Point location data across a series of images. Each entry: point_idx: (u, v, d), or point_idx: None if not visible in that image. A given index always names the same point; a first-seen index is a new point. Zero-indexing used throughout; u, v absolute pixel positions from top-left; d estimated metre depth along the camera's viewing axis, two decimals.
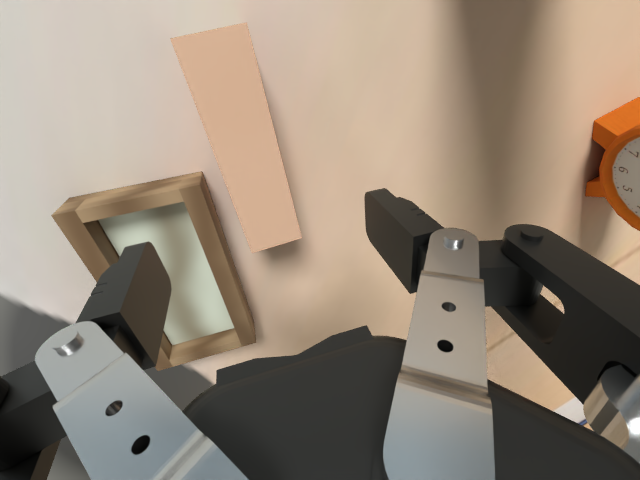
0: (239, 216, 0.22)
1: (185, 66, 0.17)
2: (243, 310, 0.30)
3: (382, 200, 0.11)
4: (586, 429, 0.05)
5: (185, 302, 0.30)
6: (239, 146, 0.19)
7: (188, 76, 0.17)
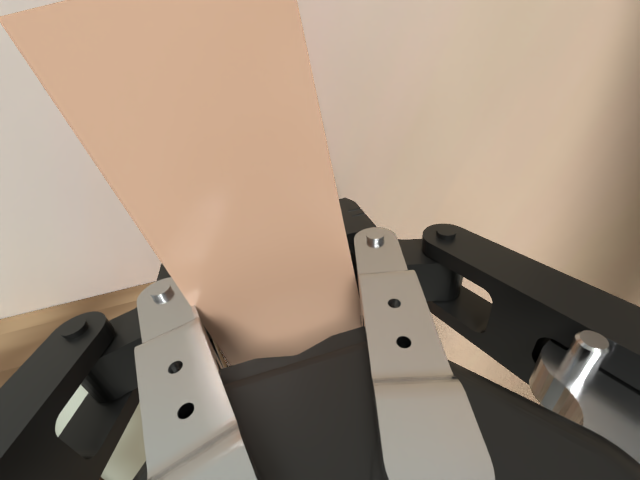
0: None
1: (79, 115, 0.05)
2: None
3: None
4: (586, 429, 0.05)
5: None
6: (263, 294, 0.08)
7: (96, 145, 0.05)
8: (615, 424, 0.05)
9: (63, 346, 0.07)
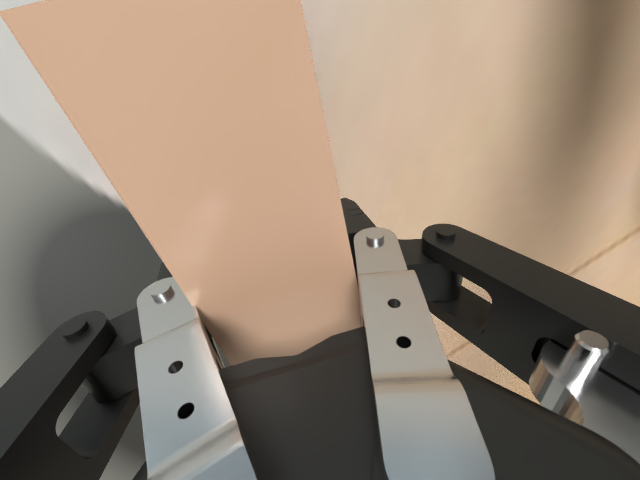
0: None
1: (80, 111, 0.05)
2: None
3: None
4: (586, 429, 0.05)
5: None
6: (264, 292, 0.08)
7: (97, 141, 0.05)
8: (614, 424, 0.05)
9: (63, 346, 0.07)
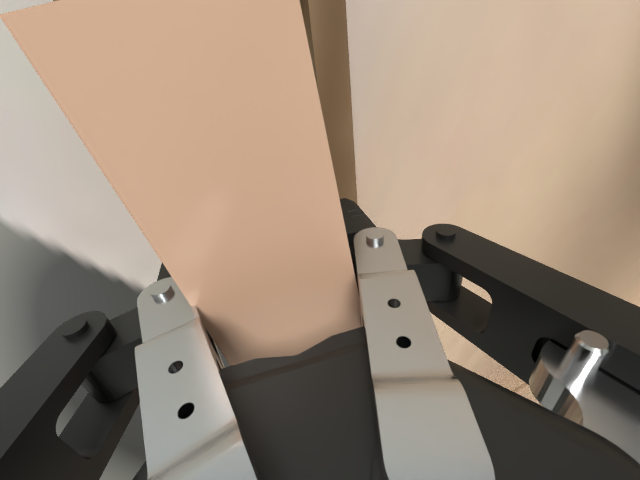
0: None
1: (80, 113, 0.05)
2: None
3: None
4: (586, 429, 0.05)
5: None
6: (264, 293, 0.08)
7: (97, 143, 0.05)
8: (614, 423, 0.05)
9: (63, 346, 0.07)
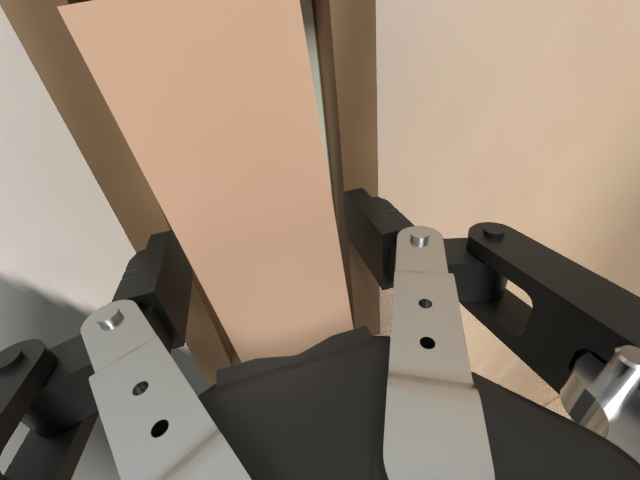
0: None
1: (114, 91, 0.06)
2: None
3: (357, 199, 0.11)
4: (586, 429, 0.05)
5: None
6: (259, 264, 0.09)
7: (125, 118, 0.06)
8: None
9: None
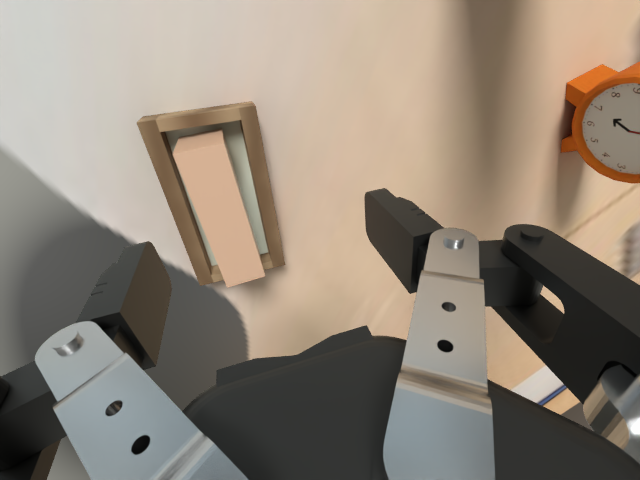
0: (217, 262, 0.30)
1: (182, 169, 0.25)
2: (277, 230, 0.35)
3: (382, 200, 0.11)
4: (586, 429, 0.05)
5: None
6: (218, 216, 0.28)
7: (183, 175, 0.25)
8: None
9: None
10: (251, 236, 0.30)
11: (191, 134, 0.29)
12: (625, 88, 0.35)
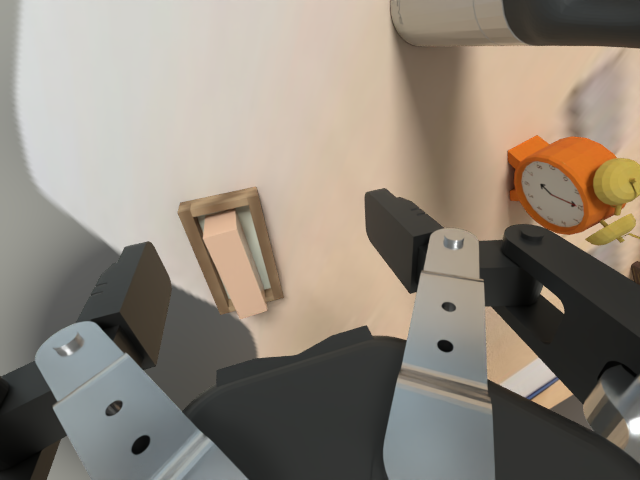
0: (233, 303, 0.42)
1: (208, 247, 0.37)
2: (277, 274, 0.47)
3: (382, 200, 0.11)
4: (586, 429, 0.05)
5: None
6: (233, 273, 0.40)
7: (210, 250, 0.37)
8: None
9: None
10: (256, 285, 0.42)
11: (213, 213, 0.41)
12: (544, 164, 0.45)
